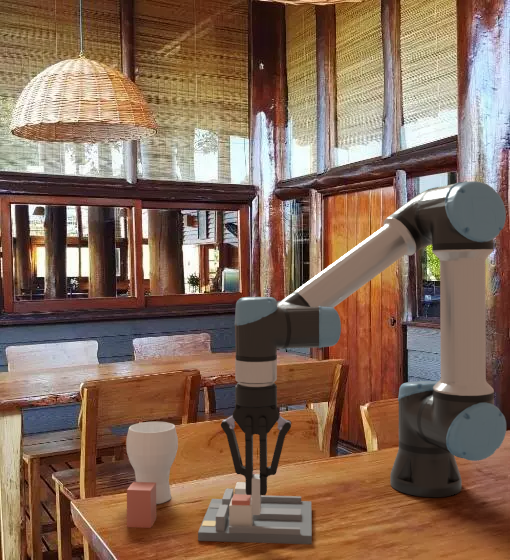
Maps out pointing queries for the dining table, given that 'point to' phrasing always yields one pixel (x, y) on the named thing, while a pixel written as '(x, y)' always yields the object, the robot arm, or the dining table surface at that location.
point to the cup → (153, 454)
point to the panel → (260, 521)
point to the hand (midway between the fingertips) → (256, 512)
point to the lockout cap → (141, 504)
